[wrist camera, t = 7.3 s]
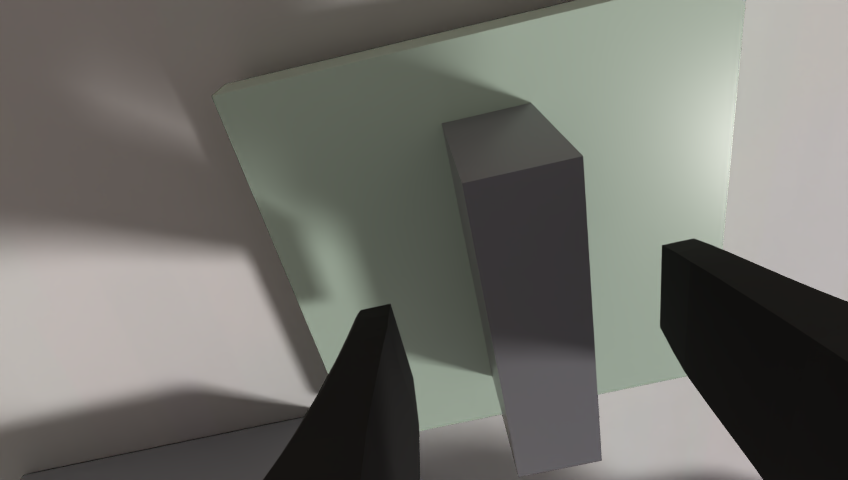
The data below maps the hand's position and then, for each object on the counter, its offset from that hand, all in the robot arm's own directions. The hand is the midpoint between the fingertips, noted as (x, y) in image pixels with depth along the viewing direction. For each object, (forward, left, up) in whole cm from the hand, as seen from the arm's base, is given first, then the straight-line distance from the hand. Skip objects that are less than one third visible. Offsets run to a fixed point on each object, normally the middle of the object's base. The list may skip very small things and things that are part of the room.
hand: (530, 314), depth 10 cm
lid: (0, 0, -4) cm, 4 cm away
